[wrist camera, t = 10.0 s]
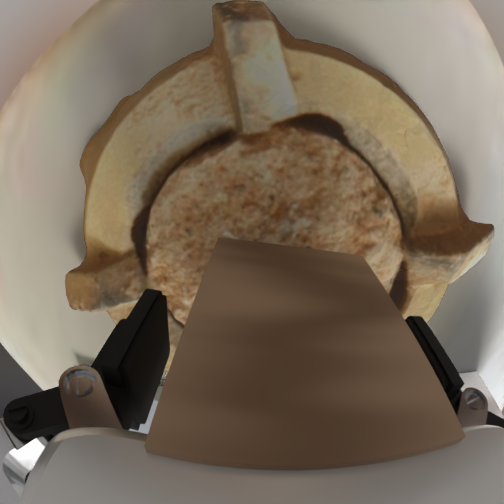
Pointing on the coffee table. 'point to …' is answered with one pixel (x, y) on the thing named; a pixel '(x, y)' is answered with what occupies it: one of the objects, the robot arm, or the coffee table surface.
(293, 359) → the block
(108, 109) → the coffee table surface
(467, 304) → the coffee table surface
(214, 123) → the ashtray
